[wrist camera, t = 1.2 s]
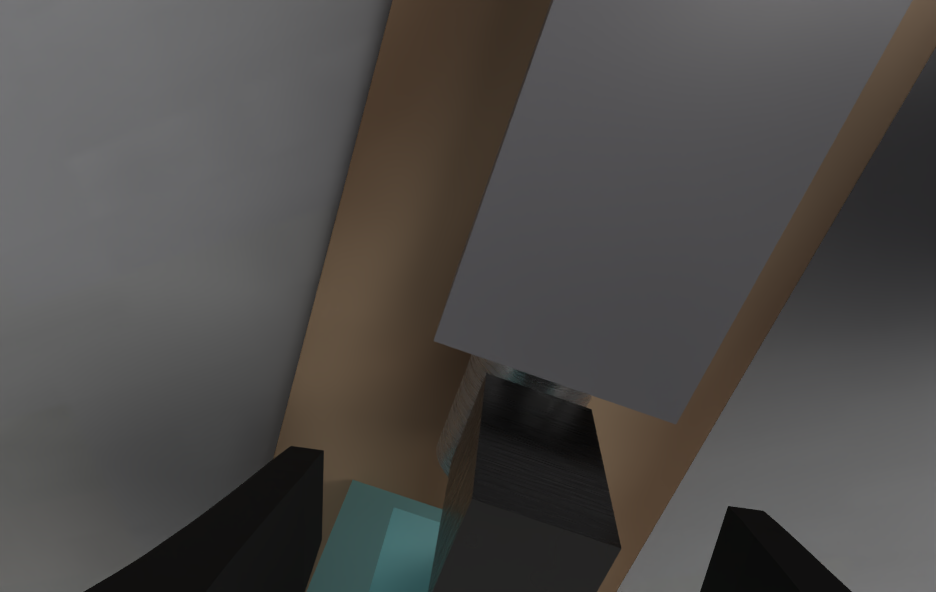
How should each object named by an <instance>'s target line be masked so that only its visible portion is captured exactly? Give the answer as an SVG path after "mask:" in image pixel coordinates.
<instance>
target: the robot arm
mask: <svg viewBox="0 0 936 592" xmlns="http://www.w3.org/2000/svg"><path fill="white" fill-rule="evenodd" d="M323 471H324V450H318V449H310V448H303V447H296V446H290V447H289V448H287V449H286V450H284V451H283V452H282V453H281V454H279V455H278V456H277V457H275V458H274V459H273V460H272V461H270V462H269V463H268V464H267V465H265V466H264V467H263V468H262V469H260V470H259V471H258V472H257V473H255V474H254V475H253V476H252V477H250V478H249V479H248V480H247V481H245V482H244V483H243V484H241V485H240V486H239V487H238V488H236V489H235V490H234V491H233V492H231V493H230V494H229V495H227V496H226V497H225V498H223V499H222V500H221V501H219V502H218V503H217V504H215V505H214V506H213V507H211V508H210V509H209V510H208V511H206V512H205V513H204V514H202V515H201V516H200V517H198V518H197V519H195V520H194V521H193V522H191V523H190V524H189V525H187V526H186V527H184V528H183V529H181V530H180V531H178V532H177V533H176V534H174V535H173V536H171V537H170V538H168V539H167V540H165V541H164V542H163V543H161V544H160V545H158V546H157V547H155V548H154V549H152V550H151V551H150V552H148V553H147V554H145V555H144V556H142V557H140V558H139V559H137V560H136V561H134V562H133V563H131V564H130V565H128V566H126V567H125V568H123V569H121V570H120V571H118V572H117V573H115V574H113V575H112V576H110V577H108V578H106V579H105V580H103V581H101V582H100V583H98V584H96V585H94V586H93V587H91V588H89V589H88V590H86V591H84V592H305V590H306V587H307V584H308V581H309V578H310V575H311V572H312V569H313V566H314V563H315V560H316V557H317V554H318V551H319V548H320V545H321V541H322V515H323ZM700 592H851V591H850V590H849V589H848V588H847V587H846V586H845V585H844V584H843V583H842V582H841V581H840V580H839V579H837V578H836V577H835V576H834V575H833V574H832V573H831V572H830V571H829V570H828V569H827V568H826V567H825V566H824V565H822V564H821V563H820V562H819V561H818V560H817V559H816V558H815V557H814V556H813V555H812V554H811V553H810V552H809V551H808V550H806V549H805V548H804V547H803V546H802V545H801V544H800V543H799V542H798V541H797V540H796V539H795V538H794V537H792V536H791V535H790V534H789V533H788V532H787V531H786V530H785V529H784V528H783V527H782V526H780V525H779V524H778V523H777V522H776V521H775V520H774V519H772V518H771V517H770V516H769V515H768V514H767V513H765V512H764V511H760V510H753V509H746V508H738V507H731V506H728V508H727V511H726V514H725V517H724V520H723V524H722V527H721V530H720V533H719V536H718V539H717V542H716V545H715V548H714V551H713V554H712V557H711V560H710V563H709V567H708V570H707V573H706V576H705V579H704V582H703V585H702V588H701V591H700Z"/></svg>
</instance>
